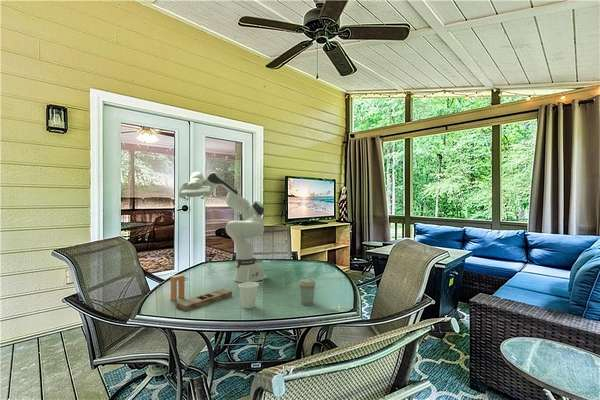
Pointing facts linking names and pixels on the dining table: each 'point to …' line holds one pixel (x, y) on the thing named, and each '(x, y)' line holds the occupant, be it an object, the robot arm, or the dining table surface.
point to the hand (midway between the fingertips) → (194, 198)
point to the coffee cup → (307, 290)
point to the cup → (248, 294)
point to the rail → (203, 299)
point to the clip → (181, 285)
